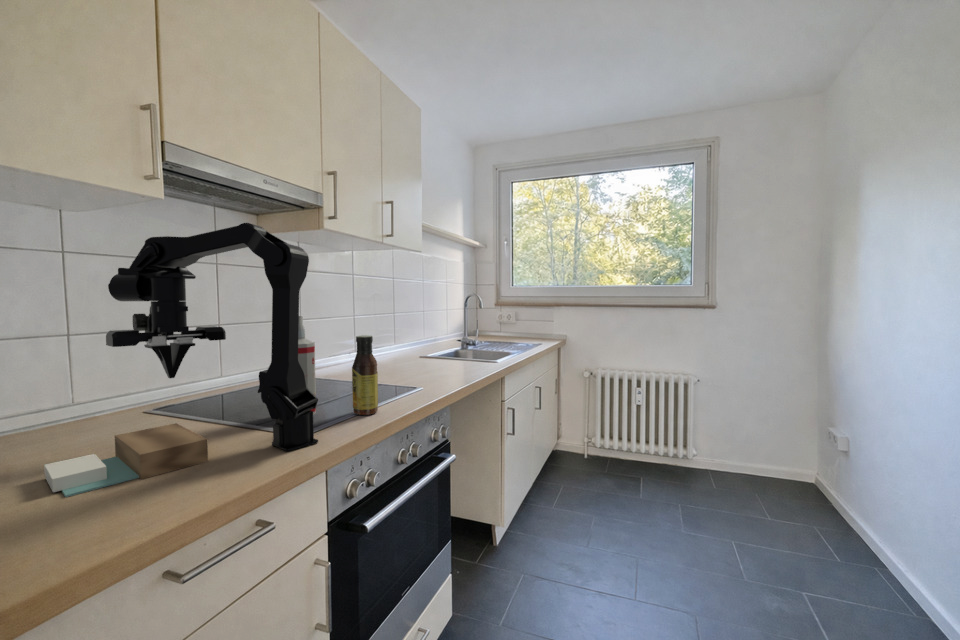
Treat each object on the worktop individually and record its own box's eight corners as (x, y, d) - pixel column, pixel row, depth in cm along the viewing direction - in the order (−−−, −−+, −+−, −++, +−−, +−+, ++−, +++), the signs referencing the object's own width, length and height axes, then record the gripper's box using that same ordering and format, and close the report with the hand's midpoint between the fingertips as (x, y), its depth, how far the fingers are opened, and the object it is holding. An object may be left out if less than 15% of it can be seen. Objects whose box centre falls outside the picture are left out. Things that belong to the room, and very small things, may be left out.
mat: (120, 457, 76) (120, 455, 76) (143, 476, 67) (143, 474, 67) (50, 473, 69) (50, 471, 69) (65, 497, 60) (65, 495, 60)
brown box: (177, 442, 83) (176, 423, 83) (208, 461, 74) (207, 439, 74) (115, 456, 76) (114, 435, 76) (141, 479, 66) (140, 454, 66)
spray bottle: (277, 415, 103) (274, 316, 102) (305, 409, 109) (303, 315, 108) (293, 420, 99) (291, 316, 98) (321, 414, 105) (320, 315, 104)
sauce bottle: (355, 410, 108) (354, 334, 108) (379, 409, 109) (378, 334, 108) (350, 417, 102) (349, 336, 101) (376, 416, 103) (375, 336, 102)
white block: (44, 464, 66) (44, 476, 67) (52, 479, 61) (53, 492, 61) (94, 453, 71) (95, 465, 71) (106, 466, 66) (106, 478, 66)
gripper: (205, 301, 96) (207, 368, 96) (97, 301, 81) (100, 380, 82) (225, 301, 89) (227, 373, 90) (111, 301, 74) (115, 387, 75)
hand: (171, 378), depth 84 cm, fingers closed
